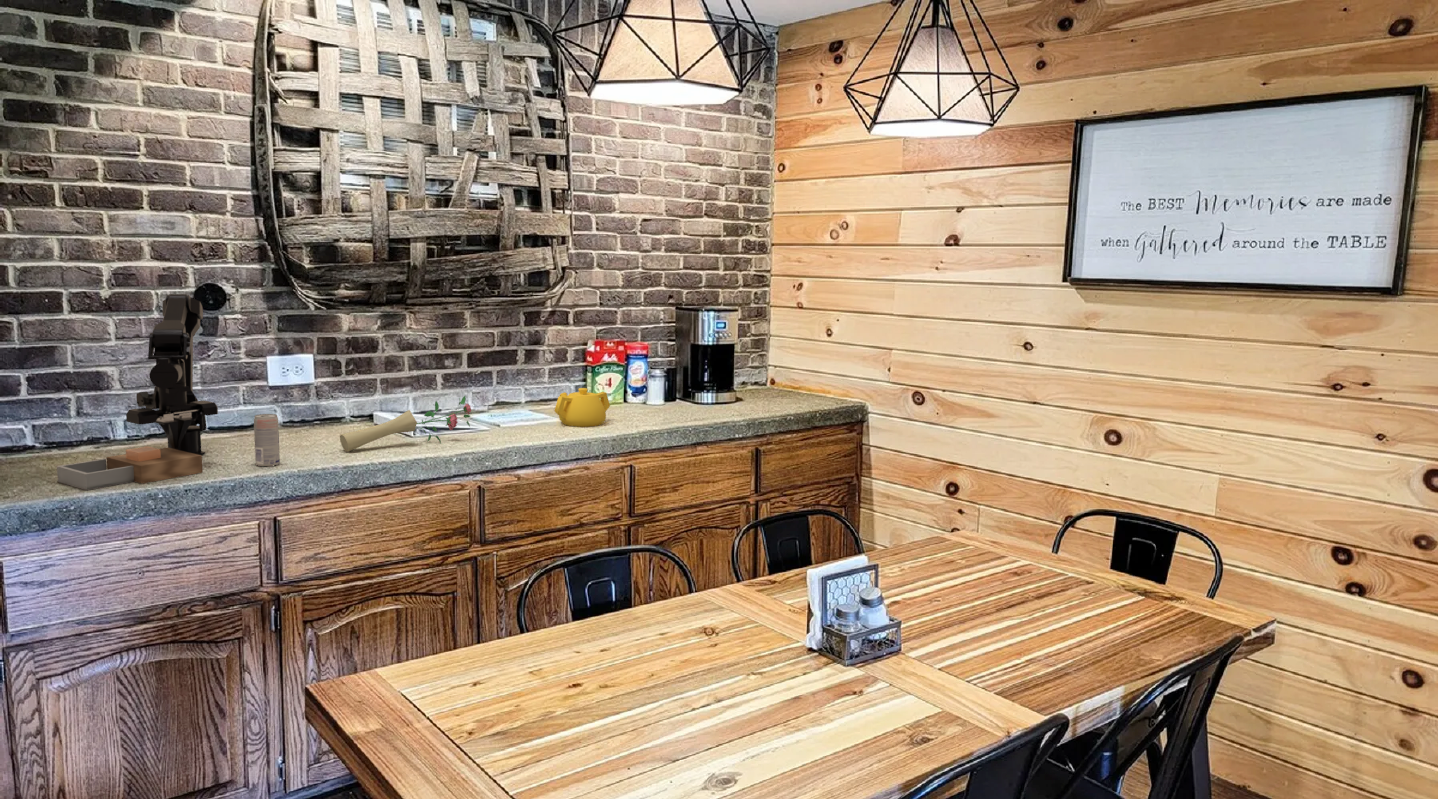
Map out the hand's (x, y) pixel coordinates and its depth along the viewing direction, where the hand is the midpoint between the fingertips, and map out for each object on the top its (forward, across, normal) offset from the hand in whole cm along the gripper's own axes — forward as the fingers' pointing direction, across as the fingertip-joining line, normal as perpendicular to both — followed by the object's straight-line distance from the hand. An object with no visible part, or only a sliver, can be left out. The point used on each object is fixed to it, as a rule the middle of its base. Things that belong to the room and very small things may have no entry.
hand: (175, 448), depth 234 cm
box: (+5, +17, -2) cm, 18 cm away
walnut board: (+5, +5, 0) cm, 7 cm away
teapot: (+5, -109, +31) cm, 114 cm away
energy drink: (+5, -16, +11) cm, 20 cm away
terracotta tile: (+1, +7, 0) cm, 7 cm away
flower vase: (+5, -53, +18) cm, 56 cm away
